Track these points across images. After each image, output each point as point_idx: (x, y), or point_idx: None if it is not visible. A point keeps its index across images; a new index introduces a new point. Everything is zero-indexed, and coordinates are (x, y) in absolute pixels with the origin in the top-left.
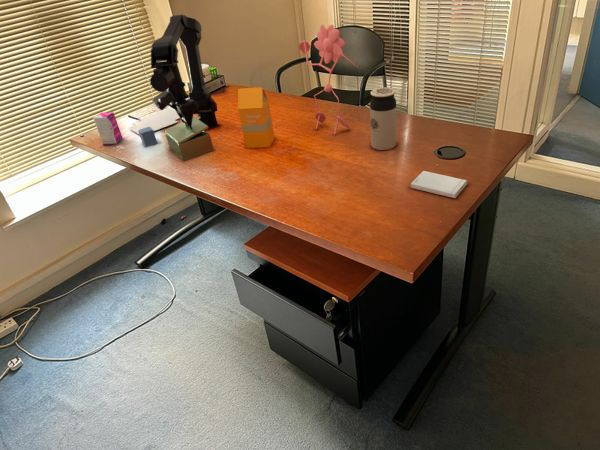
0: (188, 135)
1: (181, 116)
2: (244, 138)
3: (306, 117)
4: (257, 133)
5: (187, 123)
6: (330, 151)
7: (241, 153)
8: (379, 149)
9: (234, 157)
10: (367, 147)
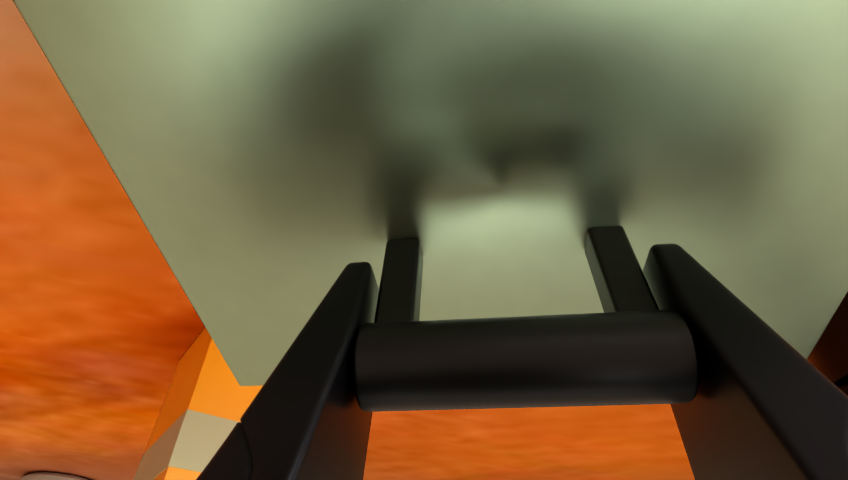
0: (138, 147)
1: (711, 378)
2: (203, 364)
3: (418, 466)
4: (163, 425)
5: (307, 329)
6: (52, 433)
7: (146, 270)
8: (24, 476)
9: (88, 230)
10: (60, 468)
